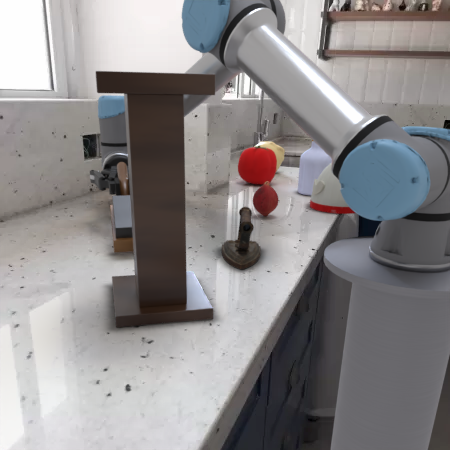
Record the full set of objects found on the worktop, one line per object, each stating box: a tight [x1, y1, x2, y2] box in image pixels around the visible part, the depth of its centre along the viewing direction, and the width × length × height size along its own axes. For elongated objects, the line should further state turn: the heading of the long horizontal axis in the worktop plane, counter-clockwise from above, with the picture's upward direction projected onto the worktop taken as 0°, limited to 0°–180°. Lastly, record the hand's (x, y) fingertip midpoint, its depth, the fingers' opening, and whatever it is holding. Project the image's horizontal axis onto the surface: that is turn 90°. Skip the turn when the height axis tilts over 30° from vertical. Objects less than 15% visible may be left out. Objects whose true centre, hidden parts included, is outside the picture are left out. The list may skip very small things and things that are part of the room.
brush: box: [109, 162, 134, 254], centre depth 89 cm, size 23×6×6 cm
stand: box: [95, 70, 216, 328], centre depth 60 cm, size 14×12×28 cm
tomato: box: [237, 145, 277, 186], centre depth 150 cm, size 12×13×12 cm
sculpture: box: [253, 140, 286, 172], centre depth 172 cm, size 12×12×11 cm
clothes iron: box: [221, 206, 262, 270], centre depth 81 cm, size 7×11×10 cm, turn 0°
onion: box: [252, 181, 280, 217], centre depth 110 cm, size 6×6×8 cm
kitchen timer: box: [309, 163, 356, 215], centre depth 119 cm, size 14×14×15 cm
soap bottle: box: [297, 139, 332, 197], centre depth 134 cm, size 9×9×25 cm
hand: (125, 190), depth 88 cm, fingers closed on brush, 2 cm apart
